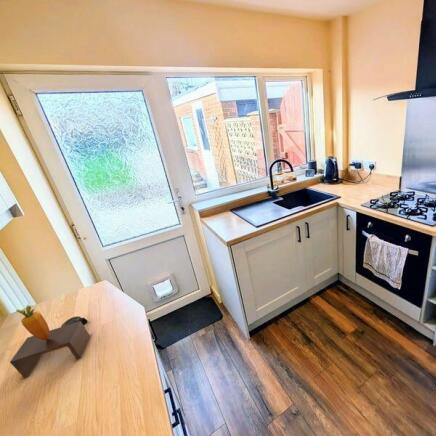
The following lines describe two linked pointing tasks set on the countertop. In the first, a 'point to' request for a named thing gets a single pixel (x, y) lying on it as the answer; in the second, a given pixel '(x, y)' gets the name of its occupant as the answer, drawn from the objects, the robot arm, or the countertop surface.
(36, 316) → the carrot
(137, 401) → the countertop surface
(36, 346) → the dark brown riser stand
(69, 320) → the tape measure
